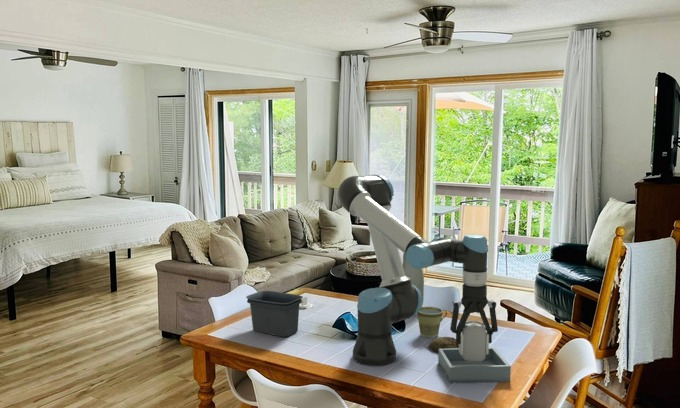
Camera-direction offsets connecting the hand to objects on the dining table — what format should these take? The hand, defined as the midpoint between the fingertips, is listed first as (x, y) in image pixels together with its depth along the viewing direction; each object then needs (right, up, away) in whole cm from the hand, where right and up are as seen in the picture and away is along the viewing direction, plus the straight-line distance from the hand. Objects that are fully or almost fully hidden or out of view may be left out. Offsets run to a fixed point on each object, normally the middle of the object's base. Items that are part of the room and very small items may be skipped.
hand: (473, 352), depth 178 cm
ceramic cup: (-7, -3, +36) cm, 37 cm away
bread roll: (-4, -5, +21) cm, 22 cm away
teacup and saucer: (-62, 0, +75) cm, 97 cm away
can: (0, -2, 0) cm, 2 cm away
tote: (0, -6, +1) cm, 6 cm away
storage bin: (-68, -3, +42) cm, 80 cm away
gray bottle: (-11, 0, +66) cm, 67 cm away
